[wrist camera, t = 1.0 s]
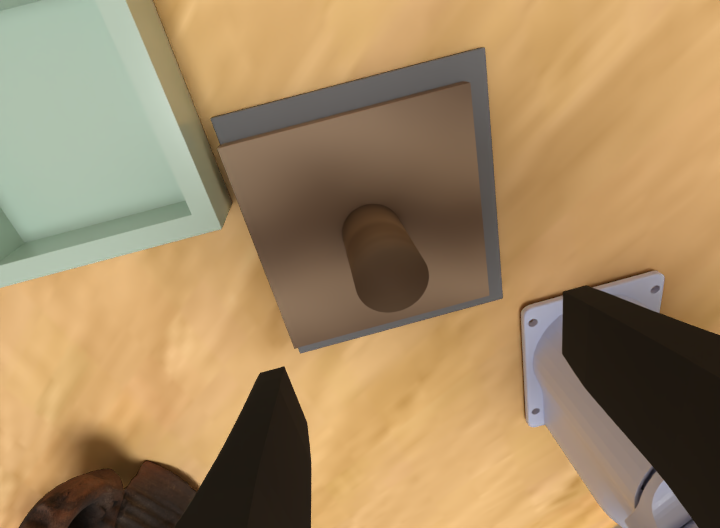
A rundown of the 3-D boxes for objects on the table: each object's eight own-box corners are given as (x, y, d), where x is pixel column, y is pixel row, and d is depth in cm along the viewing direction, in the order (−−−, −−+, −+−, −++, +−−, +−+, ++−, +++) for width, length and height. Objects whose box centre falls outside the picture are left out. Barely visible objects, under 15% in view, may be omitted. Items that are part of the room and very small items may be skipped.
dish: (232, 202, 18) (221, 229, 15) (28, 256, 18) (-19, 292, 15) (133, -49, 14) (95, -72, 11) (-136, 19, 14) (-239, 11, 11)
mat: (499, 294, 22) (502, 298, 22) (300, 348, 22) (300, 353, 22) (481, 47, 17) (484, 47, 16) (212, 117, 16) (210, 119, 16)
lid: (482, 287, 21) (534, 352, 17) (294, 338, 21) (294, 418, 17) (462, 81, 17) (526, 92, 12) (220, 144, 17) (192, 180, 12)
